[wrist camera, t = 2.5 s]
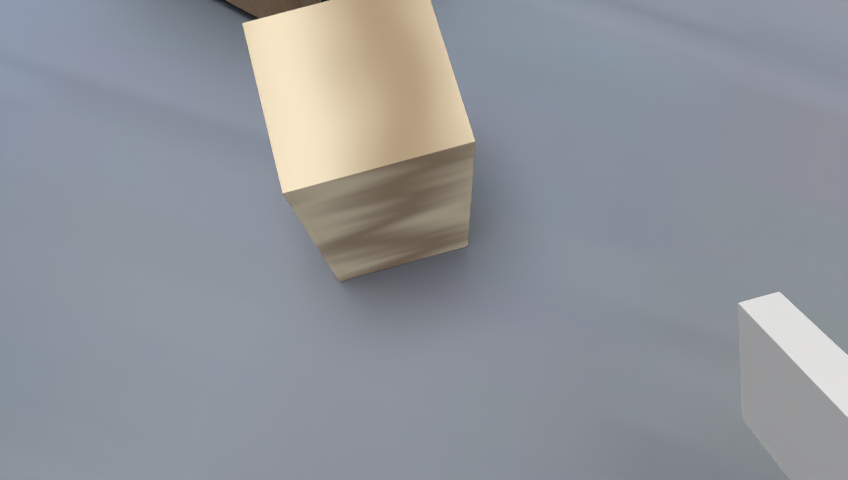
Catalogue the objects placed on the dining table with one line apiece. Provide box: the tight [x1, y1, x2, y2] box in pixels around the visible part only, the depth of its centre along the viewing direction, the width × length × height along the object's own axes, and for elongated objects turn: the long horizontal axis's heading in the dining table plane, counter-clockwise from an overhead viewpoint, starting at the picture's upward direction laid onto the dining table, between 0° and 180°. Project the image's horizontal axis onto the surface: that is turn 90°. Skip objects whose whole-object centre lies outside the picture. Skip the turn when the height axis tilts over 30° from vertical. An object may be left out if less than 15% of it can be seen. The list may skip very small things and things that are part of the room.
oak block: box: [242, 0, 475, 282], centre depth 30 cm, size 6×6×12 cm
